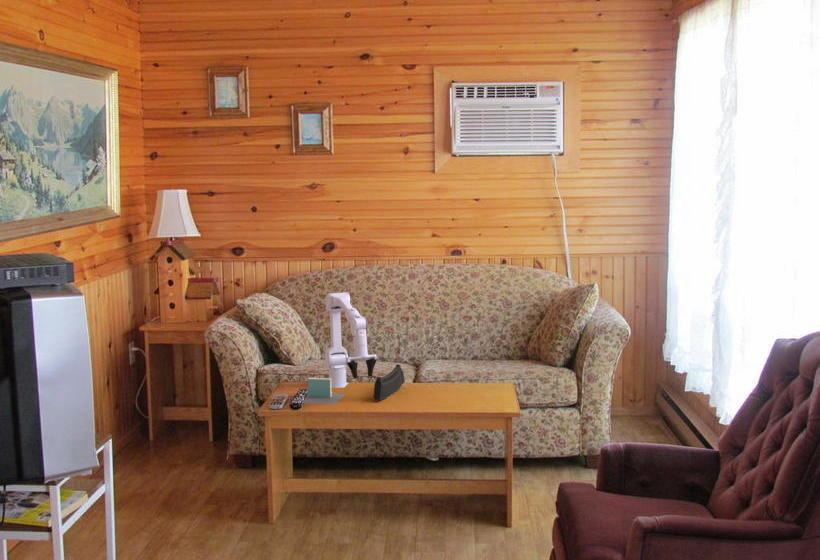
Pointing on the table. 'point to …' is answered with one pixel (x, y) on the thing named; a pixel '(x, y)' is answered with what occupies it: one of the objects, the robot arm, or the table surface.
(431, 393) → the table surface
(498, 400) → the table surface
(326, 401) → the mat
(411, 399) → the table surface
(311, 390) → the tile
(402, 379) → the magazine
